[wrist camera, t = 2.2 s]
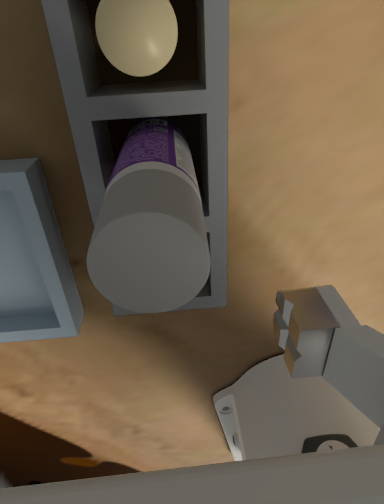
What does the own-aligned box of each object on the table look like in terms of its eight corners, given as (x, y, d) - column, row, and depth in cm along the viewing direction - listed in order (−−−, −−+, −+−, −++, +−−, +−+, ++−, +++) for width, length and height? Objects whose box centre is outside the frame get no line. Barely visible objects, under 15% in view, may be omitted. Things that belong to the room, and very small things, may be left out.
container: (116, 166, 25) (69, 298, 13) (136, 104, 23) (102, 187, 11) (175, 188, 27) (184, 328, 14) (199, 131, 24) (236, 234, 12)
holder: (218, 269, 31) (231, 324, 25) (121, 277, 31) (111, 335, 25) (215, -59, 19) (237, -101, 13) (55, -51, 19) (5, -90, 13)
